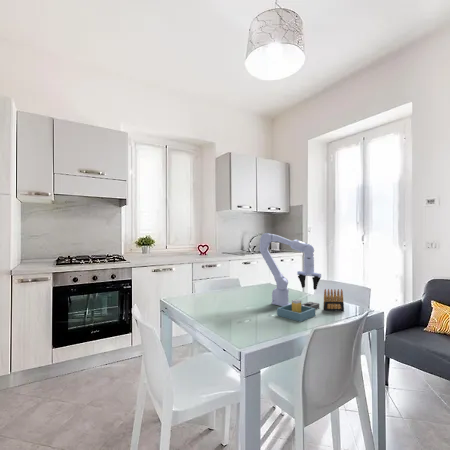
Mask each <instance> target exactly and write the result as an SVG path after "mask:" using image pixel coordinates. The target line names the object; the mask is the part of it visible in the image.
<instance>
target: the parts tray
mask: <svg viewBox="0 0 450 450" xmlns="http://www.w3.org/2000/svg"><path fill="white" fill-rule="evenodd" d="M276 316H277V317H282V318H285V319H289V320H293V321H296V322H300V323H301V322H303V321H306V320H308V319H310V318H313V317H315V316H316V309H315V308H311V307H307V306H302V305H301V313H297V312H293V311H292V303H291V304H289V305H286V306H280V307H277V308H276Z"/></svg>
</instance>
